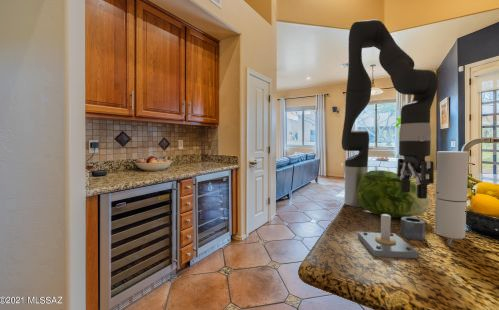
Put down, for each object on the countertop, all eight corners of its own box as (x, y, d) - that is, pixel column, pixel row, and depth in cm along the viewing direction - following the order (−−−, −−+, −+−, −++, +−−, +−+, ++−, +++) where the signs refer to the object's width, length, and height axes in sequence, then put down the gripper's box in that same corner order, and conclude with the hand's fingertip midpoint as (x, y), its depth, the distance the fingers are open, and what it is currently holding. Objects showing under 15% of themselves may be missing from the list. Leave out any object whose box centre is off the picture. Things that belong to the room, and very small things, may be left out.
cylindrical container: (456, 231, 75) (459, 151, 73) (471, 240, 68) (474, 152, 67) (430, 228, 77) (432, 151, 75) (441, 237, 70) (444, 152, 69)
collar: (397, 232, 74) (398, 216, 74) (417, 233, 73) (417, 217, 73) (407, 239, 68) (407, 222, 68) (428, 240, 68) (429, 223, 67)
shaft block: (358, 237, 71) (358, 208, 70) (394, 238, 69) (394, 209, 69) (374, 256, 59) (375, 222, 58) (418, 258, 58) (419, 223, 57)
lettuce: (426, 231, 76) (438, 178, 76) (349, 208, 89) (359, 163, 89) (422, 226, 90) (432, 181, 90) (356, 207, 103) (365, 168, 103)
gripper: (389, 140, 77) (388, 190, 77) (414, 139, 63) (412, 200, 63) (414, 140, 76) (413, 190, 77) (445, 138, 62) (443, 201, 62)
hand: (413, 195), depth 70 cm, fingers open, 8 cm apart
